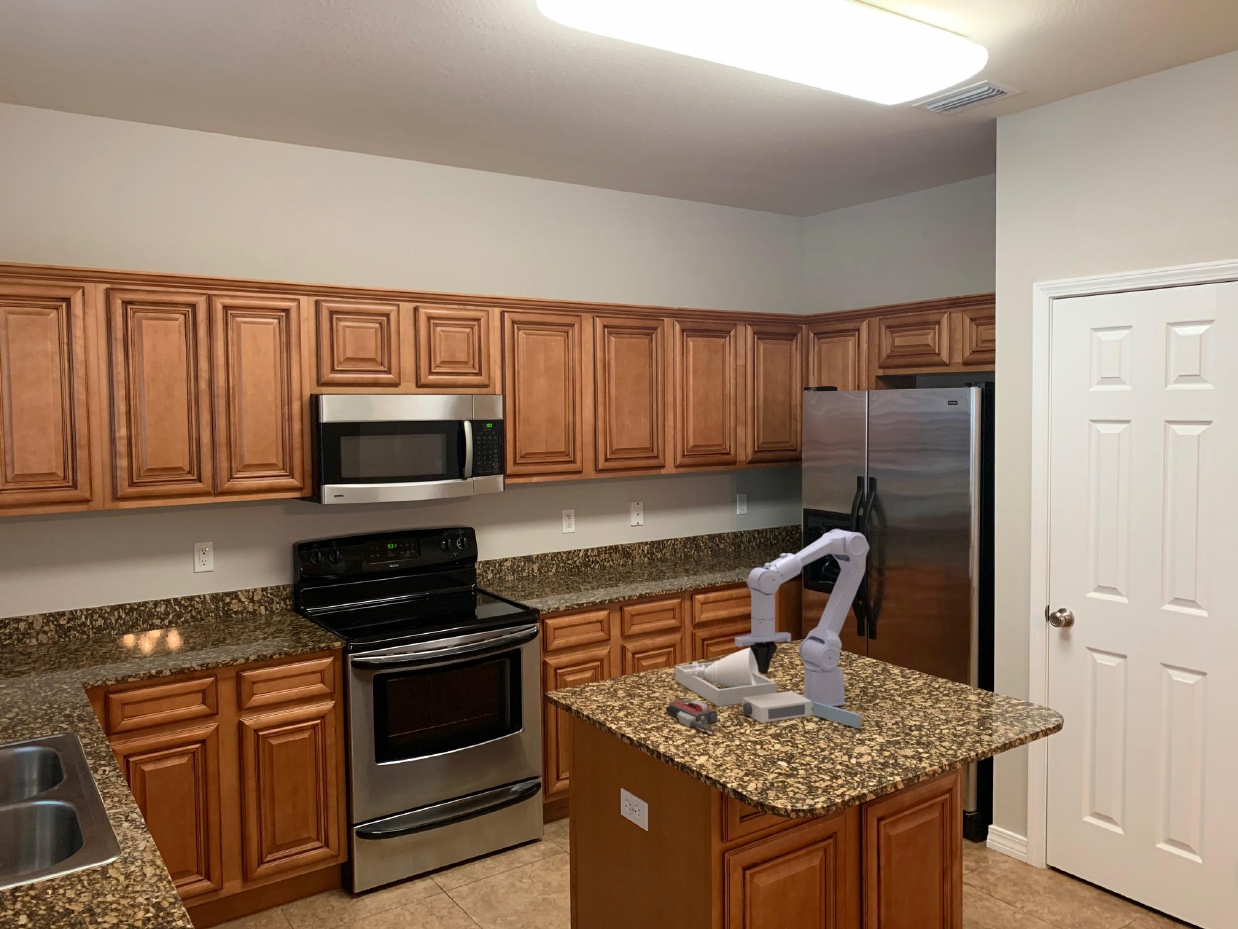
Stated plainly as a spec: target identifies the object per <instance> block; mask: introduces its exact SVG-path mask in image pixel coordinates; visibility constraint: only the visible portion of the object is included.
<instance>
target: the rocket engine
mask: <svg viewBox="0 0 1238 929" xmlns="http://www.w3.org/2000/svg"><path fill="white" fill-rule="evenodd" d="M714 662H715V663H713V664H712V665H710V666H709V667H707V668H706V669H705V666H704V665H702V666H701V667H700V668H699V665H698V664H699V662H697V661H692V664H693V667H694V668H693V669H692V668H691V667H690V668H691V670H690V669H688V668H687V669H688V670H686V669H685V670H684V673H685V674H694V675H695V676H697V677H699V678H701V679H703V680H704V681H706V682H707V681H710V682H712V683H714V684H716V685H717V686H724V687H725V688H732V687H740V686H748V685H756V682H755V680H754V678H753V674H752V673H758V674H759V670H758V666H757V662H756V659H755V656H754V654H753V652H752V650H751V648H750V647H748V648H747V647H746V648H744V649H741V650H739V651H736V652H734V653H731V654H729V655H727V656H725V657H723V658H721V659H718V660H715V661H714Z"/></svg>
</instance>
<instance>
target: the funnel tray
mask: <svg viewBox="0 0 1238 929" xmlns="http://www.w3.org/2000/svg"><path fill="white" fill-rule="evenodd" d="M715 662H716V661H712V662H711V661H709V662H702V663H701V662H700V663H698V665H699V668H700V667H701V666H702V665H704V666H705V669H706V668H707V667H709V666H710V665H712V664H713V663H715ZM690 667H691V668H692V669H693V668H694V667H693V663H692V664H691V663H690V664H683V665H676V666H675V667H674V668H675V672H674V674H675V676H674V678H675V679H674V680H675V682H677V683H678V684H680V685H681V686H683V687H685V688H686V689H688V690H690V691H691V692H694V693H695V694H697V695H698V696H700V697H702V698H703V699H705V700H706V701H708V702H709V703H711V704H713V705H714V706H717V707H724V706H731V705H733V706H734V705H739V704H740V705H742V698H743V697H750V696H758V695H765V694H773V693H778V683H777V682H776V681H774V680H772V679H770V678H768V677H767V676H764V675H763V674H761V673H759V672H758V673H752V674H753V678H754V680H755V682H756V685H748V686H740V687H732V688H730V687H725V688H718V687H716V686H715V685H714V684H712V683H709V682H708V681H707V680H706V681H704V680H703V679H701V678H699V677H697V676H695V675H694V674H685V673H684V670H685V669H686V670H688V669H690V670H691V668H690ZM687 668H688V669H687Z"/></svg>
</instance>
